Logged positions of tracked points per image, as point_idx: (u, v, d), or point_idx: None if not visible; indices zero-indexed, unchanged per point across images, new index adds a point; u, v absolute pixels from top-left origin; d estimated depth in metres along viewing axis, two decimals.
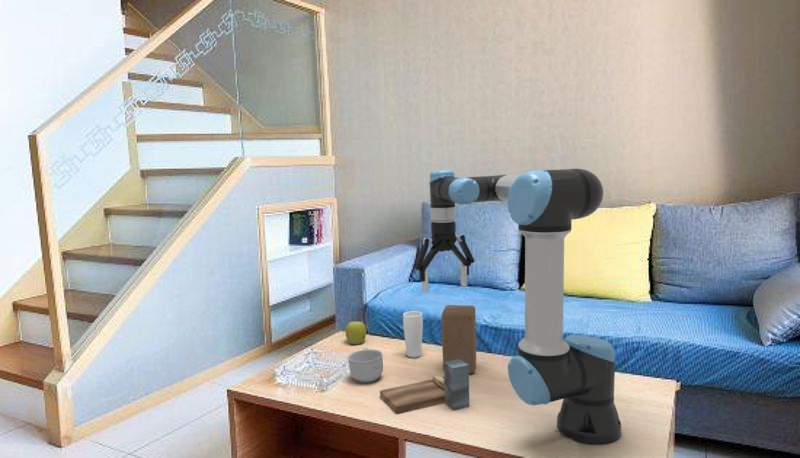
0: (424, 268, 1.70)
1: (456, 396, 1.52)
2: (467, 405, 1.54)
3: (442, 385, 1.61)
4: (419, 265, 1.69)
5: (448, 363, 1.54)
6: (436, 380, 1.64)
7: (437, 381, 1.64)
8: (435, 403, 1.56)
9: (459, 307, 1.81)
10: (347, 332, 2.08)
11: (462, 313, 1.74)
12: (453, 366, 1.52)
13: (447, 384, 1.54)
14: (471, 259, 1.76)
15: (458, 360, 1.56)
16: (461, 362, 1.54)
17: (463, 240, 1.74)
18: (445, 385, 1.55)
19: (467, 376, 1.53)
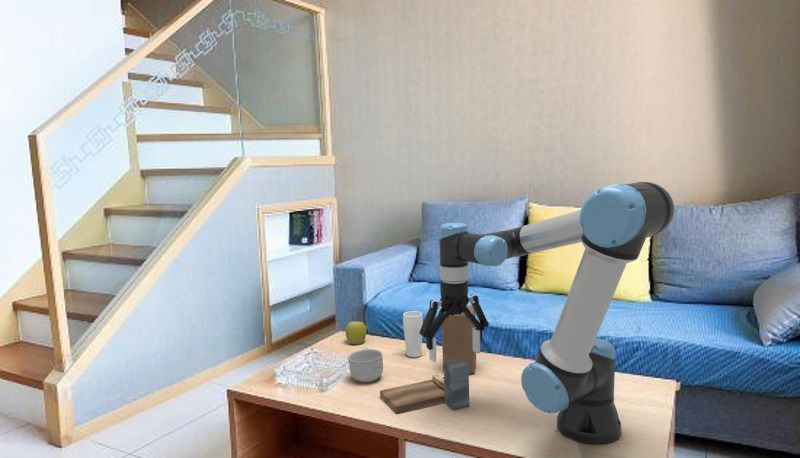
0: (432, 335, 1.49)
1: (456, 396, 1.52)
2: (467, 405, 1.54)
3: (442, 385, 1.61)
4: (426, 332, 1.48)
5: (448, 363, 1.54)
6: (436, 380, 1.64)
7: (437, 381, 1.64)
8: (435, 403, 1.56)
9: None
10: (347, 332, 2.08)
11: (462, 313, 1.74)
12: (453, 366, 1.52)
13: (447, 384, 1.54)
14: (485, 322, 1.55)
15: (458, 360, 1.56)
16: (461, 362, 1.54)
17: (476, 301, 1.53)
18: (445, 385, 1.55)
19: (467, 376, 1.53)
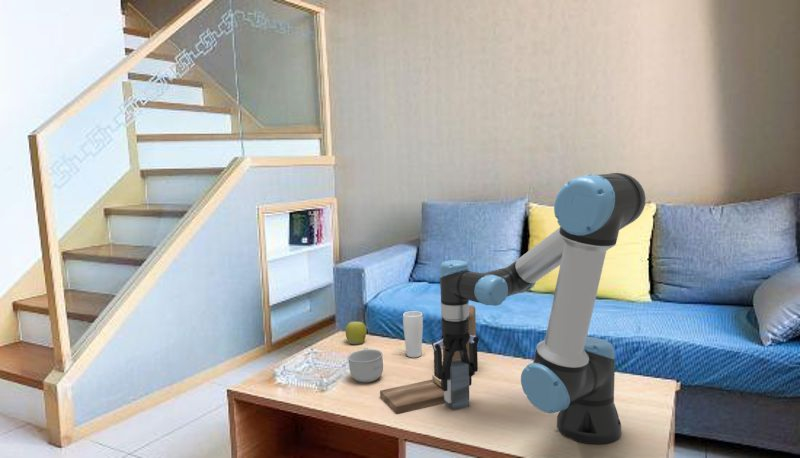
0: (446, 377, 1.52)
1: (456, 395, 1.52)
2: (467, 405, 1.54)
3: None
4: (440, 374, 1.51)
5: None
6: (436, 380, 1.64)
7: (437, 381, 1.64)
8: (435, 403, 1.56)
9: None
10: (347, 332, 2.08)
11: None
12: (453, 366, 1.52)
13: None
14: (475, 367, 1.55)
15: (458, 360, 1.56)
16: (461, 362, 1.54)
17: (475, 343, 1.54)
18: None
19: (467, 376, 1.53)
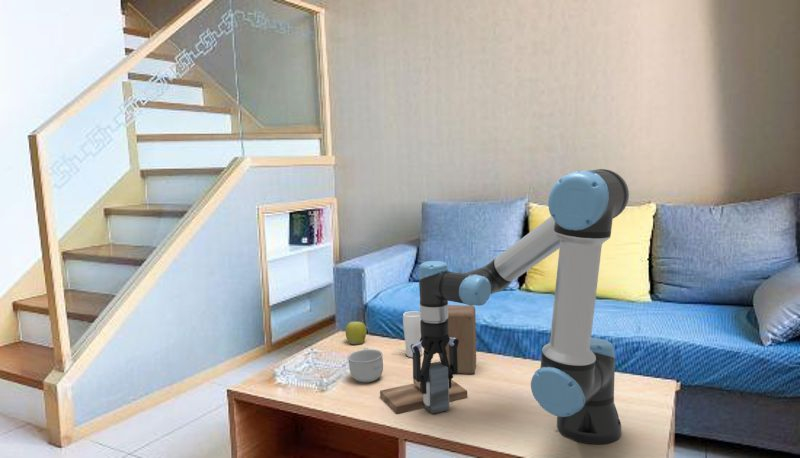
0: (425, 379, 1.49)
1: (435, 399, 1.50)
2: (446, 408, 1.51)
3: None
4: (419, 376, 1.49)
5: None
6: (417, 382, 1.62)
7: (418, 383, 1.61)
8: None
9: (459, 307, 1.81)
10: (347, 332, 2.08)
11: (462, 313, 1.74)
12: (432, 369, 1.49)
13: None
14: (455, 369, 1.53)
15: (438, 362, 1.54)
16: (441, 365, 1.52)
17: (455, 345, 1.52)
18: None
19: (446, 379, 1.50)
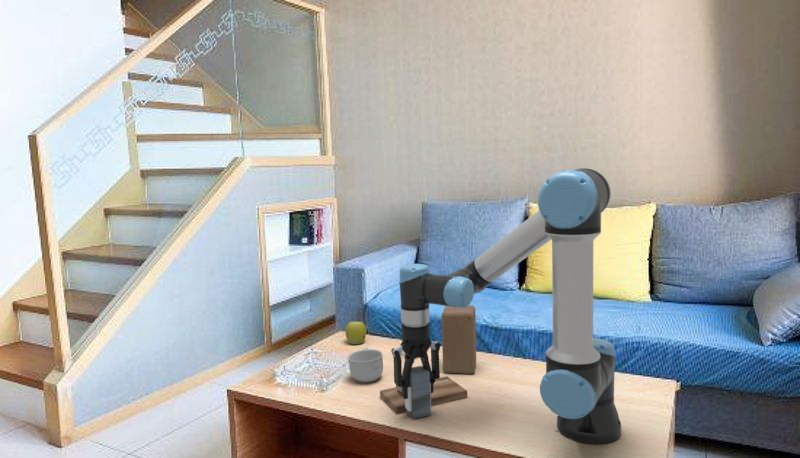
0: (406, 384, 1.47)
1: (417, 403, 1.47)
2: (428, 413, 1.49)
3: None
4: (400, 381, 1.46)
5: None
6: (399, 387, 1.59)
7: (400, 388, 1.59)
8: (435, 403, 1.56)
9: (459, 307, 1.81)
10: (347, 332, 2.08)
11: (462, 313, 1.74)
12: (413, 373, 1.47)
13: None
14: (437, 374, 1.50)
15: (420, 367, 1.51)
16: (422, 369, 1.50)
17: (437, 349, 1.50)
18: None
19: (428, 383, 1.48)
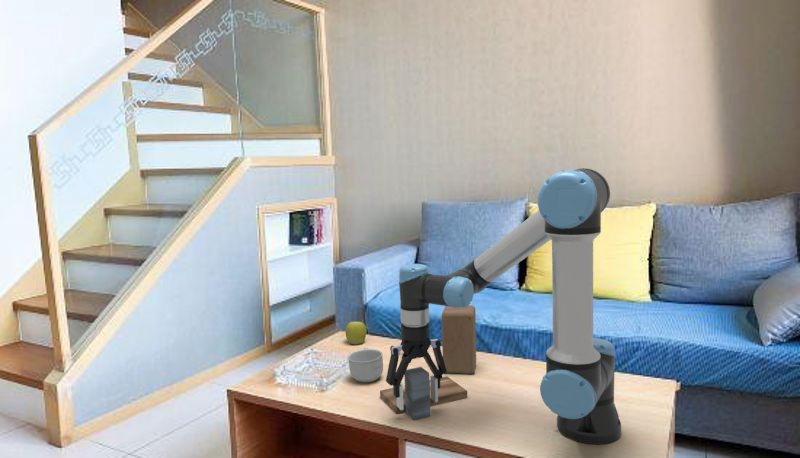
0: (398, 383, 1.46)
1: (417, 405, 1.47)
2: (428, 414, 1.49)
3: (404, 393, 1.56)
4: (392, 380, 1.45)
5: (408, 371, 1.49)
6: None
7: None
8: (435, 403, 1.56)
9: (459, 307, 1.81)
10: (347, 332, 2.08)
11: (462, 313, 1.74)
12: (413, 374, 1.47)
13: (408, 392, 1.49)
14: (443, 369, 1.51)
15: (419, 368, 1.51)
16: (422, 370, 1.50)
17: (438, 346, 1.50)
18: (406, 394, 1.51)
19: (428, 385, 1.48)
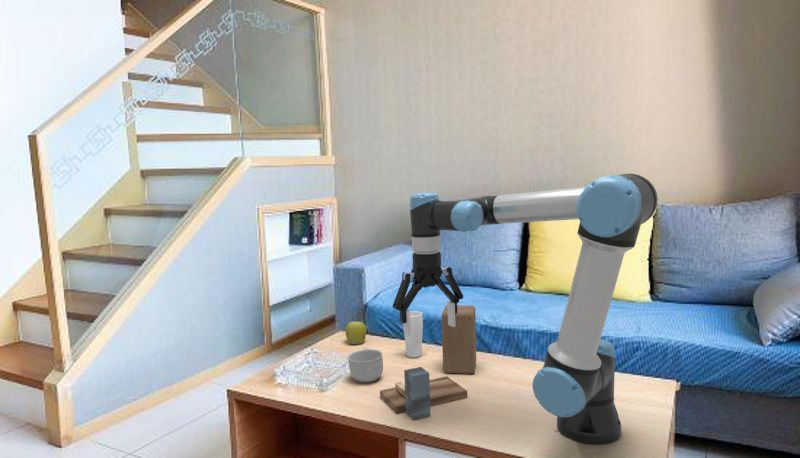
0: (405, 308, 1.45)
1: (417, 405, 1.47)
2: (428, 414, 1.49)
3: (404, 393, 1.56)
4: (399, 305, 1.44)
5: (408, 371, 1.49)
6: (399, 388, 1.59)
7: (399, 389, 1.59)
8: (435, 403, 1.56)
9: (459, 307, 1.81)
10: (347, 332, 2.08)
11: (462, 313, 1.74)
12: (413, 374, 1.47)
13: (408, 392, 1.49)
14: (459, 295, 1.52)
15: (419, 368, 1.51)
16: (422, 370, 1.50)
17: (450, 273, 1.50)
18: (406, 394, 1.51)
19: (428, 385, 1.48)
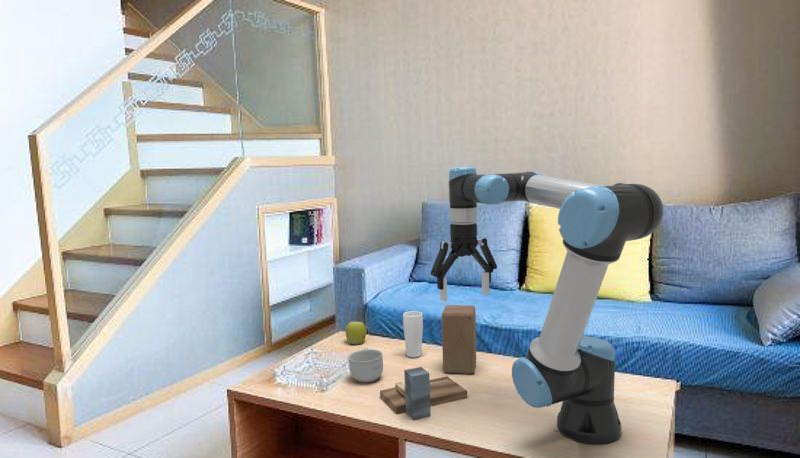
0: (443, 275, 1.53)
1: (417, 405, 1.47)
2: (428, 414, 1.49)
3: (404, 393, 1.56)
4: (437, 272, 1.53)
5: (408, 371, 1.49)
6: (399, 388, 1.59)
7: (400, 389, 1.59)
8: (435, 403, 1.56)
9: (459, 307, 1.81)
10: (347, 332, 2.08)
11: (462, 313, 1.74)
12: (413, 374, 1.47)
13: (408, 392, 1.49)
14: (494, 265, 1.60)
15: (419, 368, 1.51)
16: (422, 370, 1.50)
17: (485, 244, 1.58)
18: (406, 394, 1.51)
19: (428, 385, 1.48)
